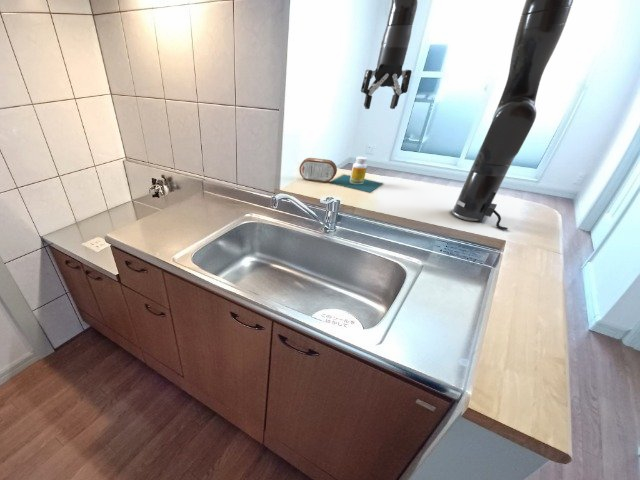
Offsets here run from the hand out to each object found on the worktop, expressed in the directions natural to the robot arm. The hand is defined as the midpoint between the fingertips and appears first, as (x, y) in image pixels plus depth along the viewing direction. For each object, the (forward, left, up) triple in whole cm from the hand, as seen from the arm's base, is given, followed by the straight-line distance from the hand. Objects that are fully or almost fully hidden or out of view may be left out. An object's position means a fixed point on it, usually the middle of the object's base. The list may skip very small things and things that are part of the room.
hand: (379, 108), depth 105 cm
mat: (+6, -10, -28) cm, 30 cm away
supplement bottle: (+6, -10, -28) cm, 30 cm away
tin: (+20, -2, -28) cm, 35 cm away
